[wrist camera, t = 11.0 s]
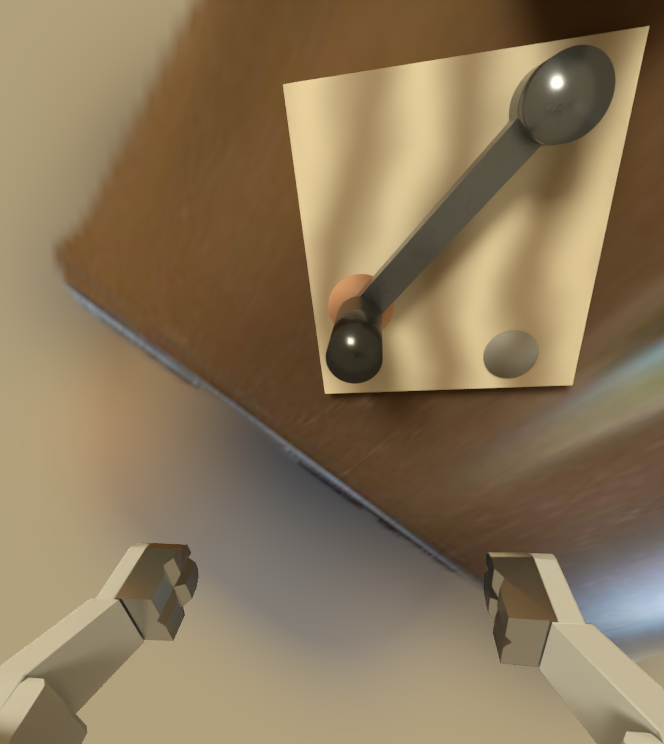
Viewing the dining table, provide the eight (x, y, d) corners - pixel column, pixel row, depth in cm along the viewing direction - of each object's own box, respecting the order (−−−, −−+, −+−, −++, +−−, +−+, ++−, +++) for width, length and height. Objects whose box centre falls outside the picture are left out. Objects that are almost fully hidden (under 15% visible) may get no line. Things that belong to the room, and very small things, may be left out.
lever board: (633, 34, 21) (651, 24, 20) (564, 376, 32) (573, 386, 30) (287, 88, 24) (282, 83, 23) (327, 385, 35) (324, 394, 33)
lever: (601, 97, 21) (712, 63, 14) (366, 342, 29) (362, 397, 22) (554, 40, 20) (648, -27, 13) (326, 309, 29) (308, 356, 22)
